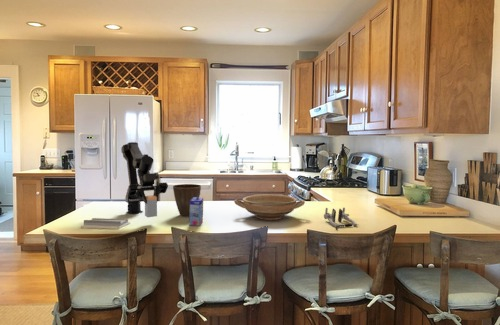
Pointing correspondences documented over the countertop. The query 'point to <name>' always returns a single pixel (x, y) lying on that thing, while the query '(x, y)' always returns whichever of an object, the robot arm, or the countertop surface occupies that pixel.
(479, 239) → the countertop surface
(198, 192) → the plant pot
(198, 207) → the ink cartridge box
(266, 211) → the ceramic bowl
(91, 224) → the rail plate
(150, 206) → the block
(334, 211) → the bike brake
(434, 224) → the countertop surface
